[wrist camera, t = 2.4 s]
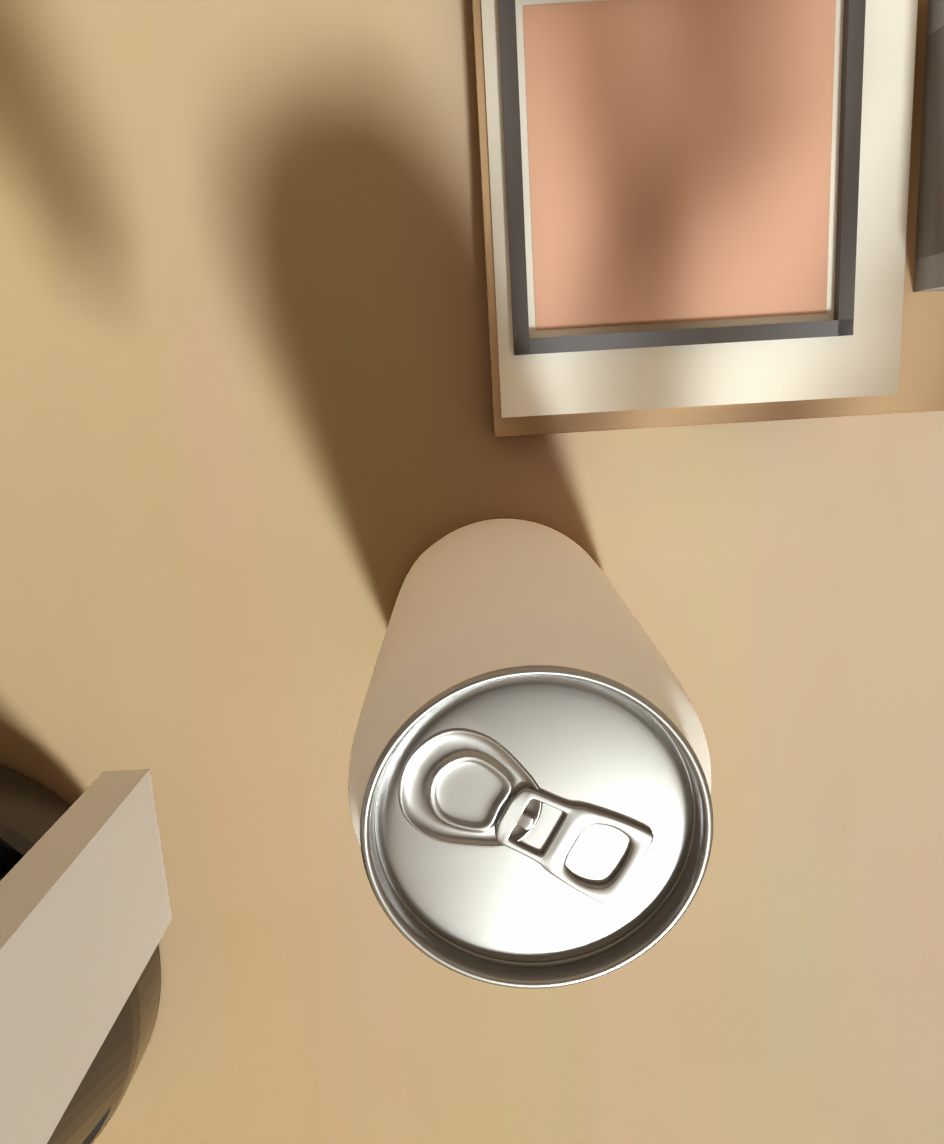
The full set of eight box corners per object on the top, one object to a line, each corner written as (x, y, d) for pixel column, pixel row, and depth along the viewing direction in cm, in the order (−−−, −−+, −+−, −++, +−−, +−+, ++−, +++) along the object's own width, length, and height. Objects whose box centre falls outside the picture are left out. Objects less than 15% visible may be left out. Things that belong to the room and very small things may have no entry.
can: (454, 475, 24) (445, 566, 13) (654, 576, 25) (820, 751, 13) (356, 670, 26) (265, 917, 14) (549, 761, 26) (617, 1069, 15)
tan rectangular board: (493, 434, 24) (497, 441, 22) (466, -99, 21) (466, -163, 19) (1141, 396, 24) (1220, 399, 22) (1200, -144, 21) (1300, -215, 19)
